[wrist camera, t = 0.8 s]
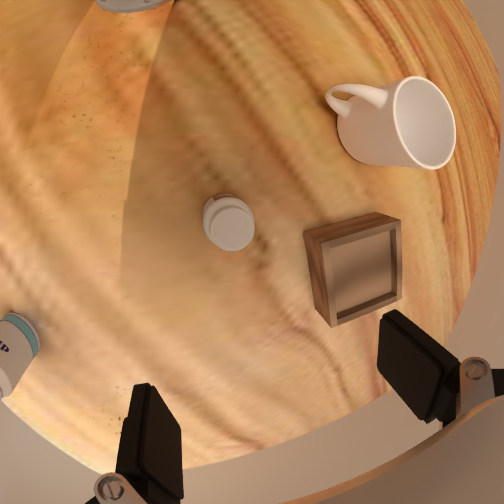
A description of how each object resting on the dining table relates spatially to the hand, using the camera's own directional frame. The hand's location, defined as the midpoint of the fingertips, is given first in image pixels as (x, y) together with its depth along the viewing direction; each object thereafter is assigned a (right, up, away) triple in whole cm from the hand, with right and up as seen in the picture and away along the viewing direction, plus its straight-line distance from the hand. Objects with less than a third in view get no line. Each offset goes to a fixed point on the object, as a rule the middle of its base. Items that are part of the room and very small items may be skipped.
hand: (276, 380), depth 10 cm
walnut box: (+11, +4, +23) cm, 26 cm away
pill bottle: (-4, +9, +19) cm, 21 cm away
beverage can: (-33, -6, +18) cm, 38 cm away
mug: (+11, +20, +18) cm, 29 cm away
